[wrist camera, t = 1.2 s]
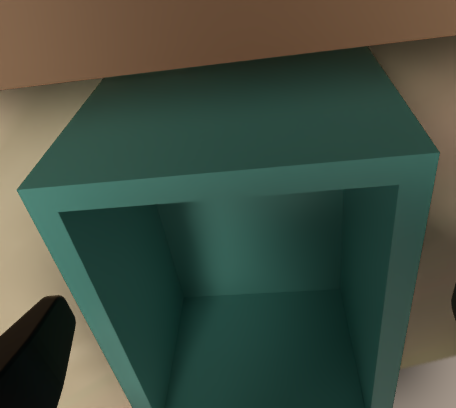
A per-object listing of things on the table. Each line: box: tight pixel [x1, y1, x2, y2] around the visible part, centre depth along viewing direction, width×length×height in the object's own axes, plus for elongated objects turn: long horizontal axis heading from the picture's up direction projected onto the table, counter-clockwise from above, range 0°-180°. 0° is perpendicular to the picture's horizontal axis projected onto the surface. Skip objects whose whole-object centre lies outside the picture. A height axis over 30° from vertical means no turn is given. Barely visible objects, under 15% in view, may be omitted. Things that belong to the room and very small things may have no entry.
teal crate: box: [17, 46, 440, 408], centre depth 11 cm, size 6×8×5 cm
